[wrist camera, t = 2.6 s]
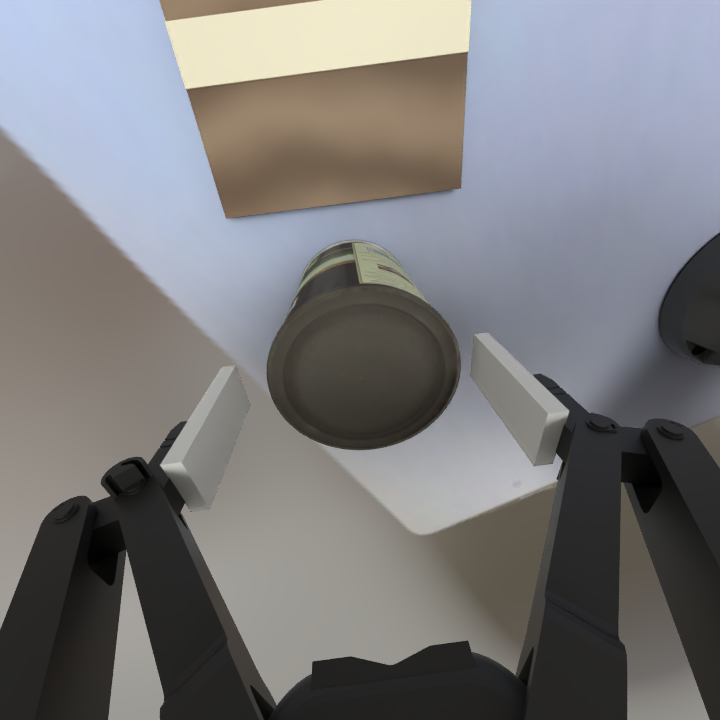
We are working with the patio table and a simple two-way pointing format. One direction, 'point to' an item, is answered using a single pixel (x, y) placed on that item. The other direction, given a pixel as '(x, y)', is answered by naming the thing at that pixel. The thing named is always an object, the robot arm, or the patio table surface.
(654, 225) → the patio table surface
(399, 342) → the coffee can
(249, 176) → the board
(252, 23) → the strip
